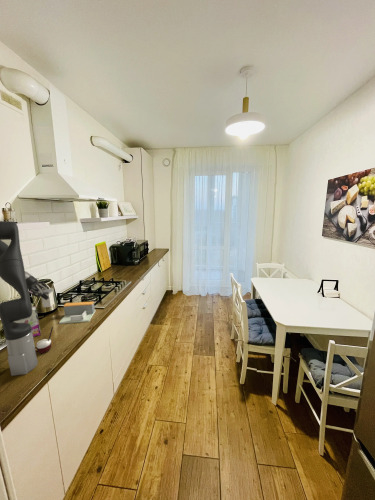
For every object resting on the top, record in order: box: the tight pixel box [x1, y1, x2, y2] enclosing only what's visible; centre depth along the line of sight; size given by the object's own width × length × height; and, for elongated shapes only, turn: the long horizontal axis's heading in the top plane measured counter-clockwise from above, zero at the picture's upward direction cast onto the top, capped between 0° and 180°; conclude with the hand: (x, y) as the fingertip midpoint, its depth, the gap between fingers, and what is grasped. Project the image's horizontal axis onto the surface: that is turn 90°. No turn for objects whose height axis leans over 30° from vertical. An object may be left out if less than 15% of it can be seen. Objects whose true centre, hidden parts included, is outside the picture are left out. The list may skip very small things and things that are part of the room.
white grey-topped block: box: [40, 288, 55, 308], centre depth 129 cm, size 4×4×10 cm
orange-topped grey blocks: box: [58, 301, 97, 325], centre depth 138 cm, size 14×18×8 cm
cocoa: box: [35, 326, 54, 354], centre depth 105 cm, size 10×6×12 cm, turn 98°
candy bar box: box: [14, 306, 42, 338], centre depth 116 cm, size 11×5×16 cm, turn 129°
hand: (49, 296), depth 129 cm, fingers closed on white grey-topped block, 4 cm apart
